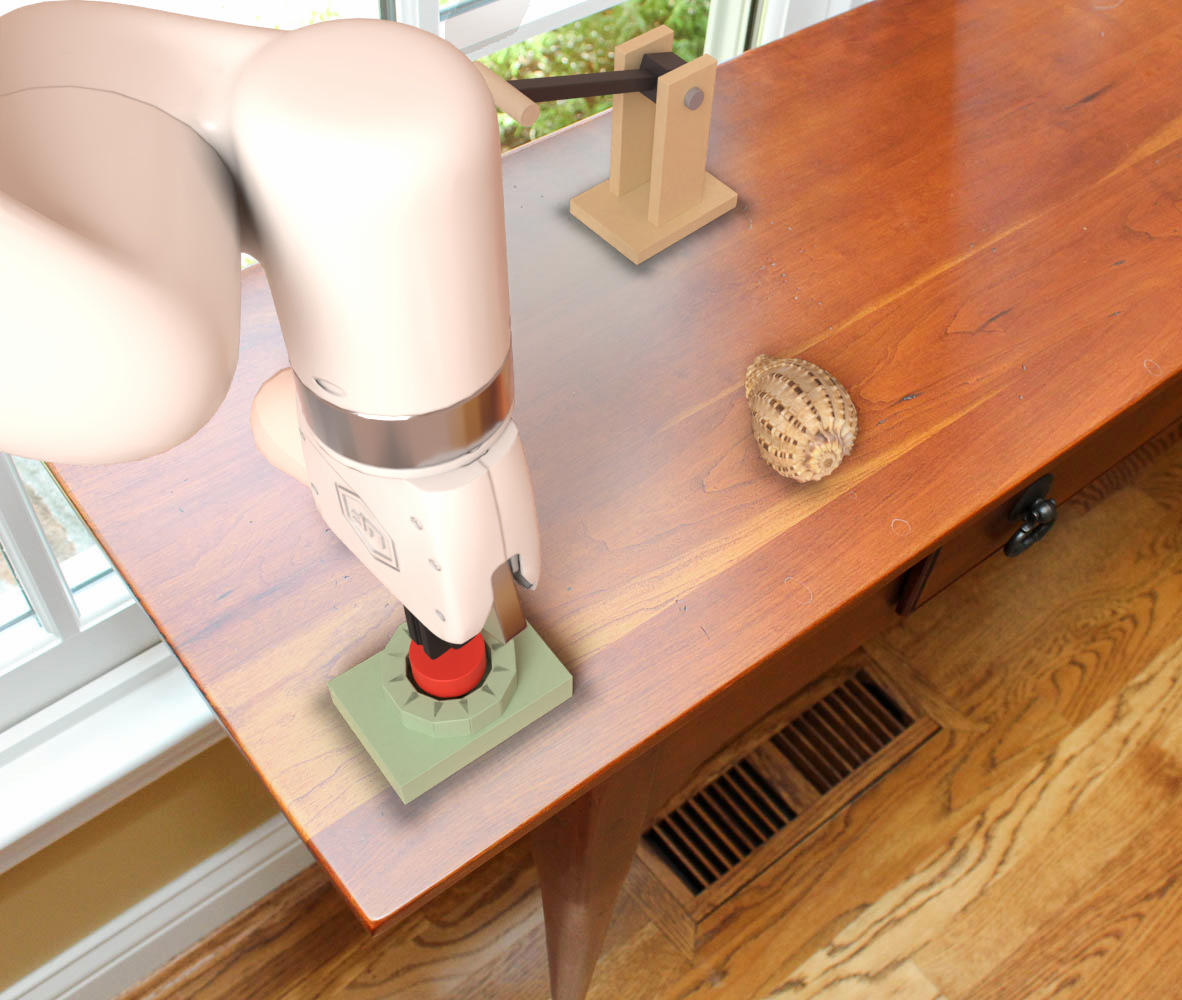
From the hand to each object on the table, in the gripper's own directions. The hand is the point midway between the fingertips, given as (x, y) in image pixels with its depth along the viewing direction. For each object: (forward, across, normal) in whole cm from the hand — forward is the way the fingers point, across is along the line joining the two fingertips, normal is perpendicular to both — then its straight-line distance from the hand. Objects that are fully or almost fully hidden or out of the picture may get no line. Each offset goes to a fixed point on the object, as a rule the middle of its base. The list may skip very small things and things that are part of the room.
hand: (448, 631), depth 58 cm
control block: (+7, 0, 0) cm, 7 cm away
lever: (-5, -21, +28) cm, 36 cm away
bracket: (+7, -22, +35) cm, 41 cm away
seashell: (+7, -1, +27) cm, 28 cm away
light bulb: (+7, -16, +4) cm, 18 cm away
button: (+3, 0, 0) cm, 3 cm away
